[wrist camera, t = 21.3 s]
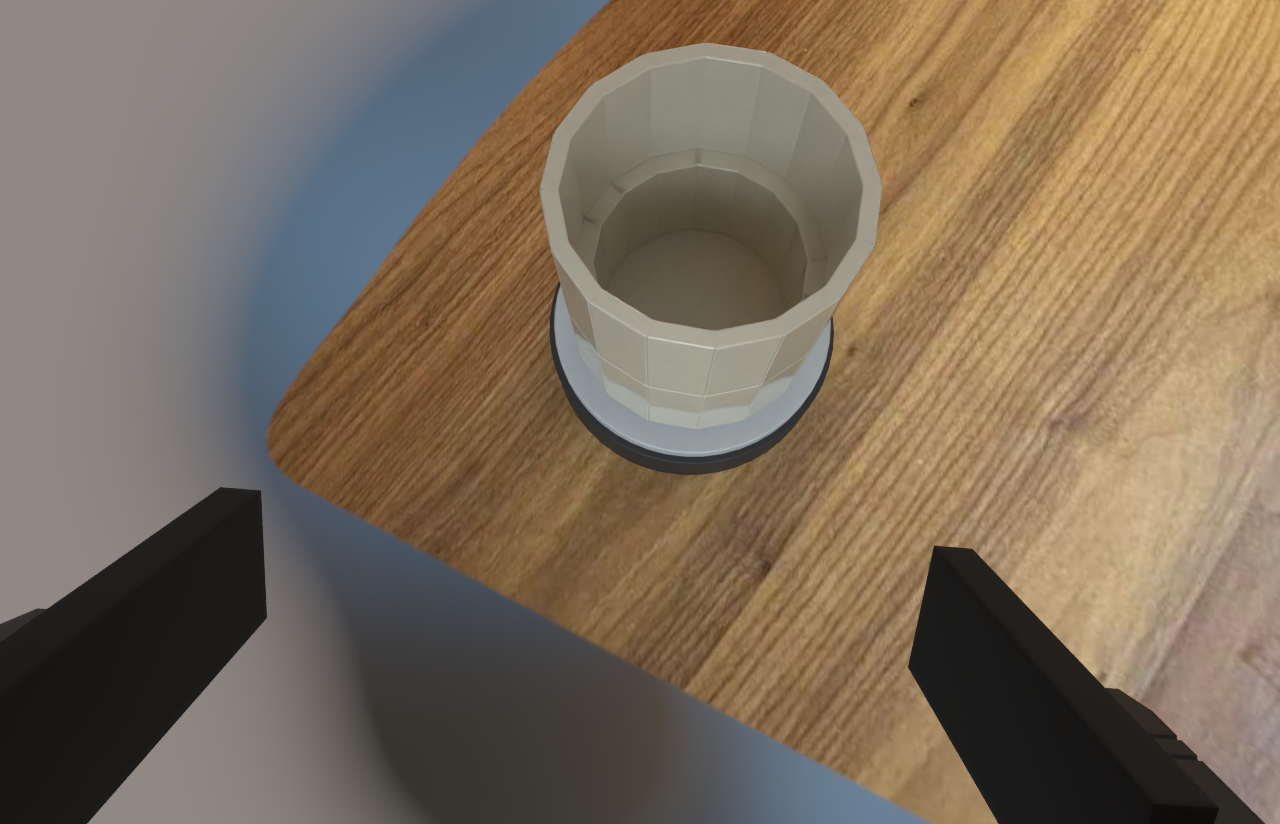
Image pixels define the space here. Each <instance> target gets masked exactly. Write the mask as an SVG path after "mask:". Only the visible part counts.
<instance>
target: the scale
mask: <svg viewBox="0 0 1280 824" xmlns="http://www.w3.org/2000/svg"><path fill="white" fill-rule="evenodd" d="M833 336H834V329H833V316H832V317H831V319H830V320H829V322H828V324H827V325H826V327H825V329H824V330H823V332H822V334H821V335H820V337H819V339H818V340H817V342H816V343H815V345H814V347H813V348H812V350H811V352H810V353H809V355H808V357H807V358H806V360H805V361H804V363H803V364H802V366H801V368H800V369H799V371H798V372H797V374H796V375H795V377H794V379H793V380H792V382H791V383H790V385H789V386H788V388H787V390H786V391H785V392H784V393H783V394H782V395H781V396H779V397H778V398H776V399H775V400H773V401H772V402H770V403H769V404H767V405H766V406H764V407H763V408H761V409H760V410H758V411H757V412H756V413H754V414H753V415H751V416H750V417H748V418H747V419H744V420H741V421H736V422H731V423H726V424H722V425H717V426H712V427H707V428H702V429H697V428H696V429H691V428H685V427H680V426H674V425H669V424H664V423H658V422H653V421H649V420H646V419H644V418H643V417H641V416H640V415H638V414H636V413H635V412H633V411H632V410H630V409H629V408H627V407H625V406H624V405H622V404H621V403H619V402H618V401H616V400H614V399H613V398H611V397H610V396H608V394H606V392H605V391H604V389H603V388H602V387H601V385H600V384H599V382H598V381H597V379H596V378H595V376H594V375H593V374H592V372H591V371H590V369H589V368H588V366H587V365H586V363H585V362H584V361H583V359H582V357H581V355H580V352H579V348H578V345H577V341H576V338H575V334H574V330H573V327H572V323H571V320H570V316H569V313H568V309H567V306H566V302H565V299H564V295H563V292H562V288H561V285H560V281H559V283H558V286H557V290H556V293H555V296H554V299H553V304H552V310H551V316H550V341H551V350H552V355H553V359H554V363H555V367H556V370H557V373H558V375H559V378H560V380H561V383H562V385H563V388H564V390H565V393H566V395H567V397H568V400H569V402H570V404H571V406H572V407H573V409H574V411H575V412H576V414H577V416H578V417H579V419H580V420H581V421H582V422H583V424H584V425H585V426H586V428H587V429H588V430H589V431H590V432H591V433H592V434H593V435H594V436H595V437H596V438H597V439H598V440H599V441H600V442H601V443H603V444H604V445H605V446H607V447H608V448H609V449H611V450H612V451H613V452H615V453H616V454H618V455H620V456H622V457H624V458H625V459H627V460H629V461H631V462H633V463H636V464H638V465H641V466H643V467H646V468H649V469H653V470H657V471H661V472H665V473H673V474H682V475H696V474H707V473H715V472H720V471H724V470H727V469H731V468H735V467H737V466H740V465H742V464H745V463H747V462H749V461H752V460H753V459H755V458H757V457H759V456H760V455H762V454H764V453H765V452H767V451H768V450H770V449H771V448H772V447H773V446H775V445H776V444H777V443H779V442H780V441H781V440H782V439H783V438H784V437H785V436H786V435H787V434H788V433H789V432H790V431H791V430H792V429H793V427H794V426H795V425H796V424H797V422H798V421H799V420H800V418H801V417H802V416H803V414H804V413H805V412H806V410H807V409H808V408H809V406H810V405H811V403H812V402H813V401H814V399H815V397H816V395H817V394H818V392H819V390H820V388H821V386H822V384H823V382H824V379H825V376H826V373H827V371H828V368H829V364H830V359H831V355H832V350H833Z"/></svg>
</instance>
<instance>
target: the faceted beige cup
mask: <svg viewBox="0 0 1280 824" xmlns="http://www.w3.org/2000/svg"><path fill="white" fill-rule="evenodd" d="M539 193H540V198H541V203H542V208H543V214H544V219H545V224H546V229H547V235H548V240H549V245H550V249H551V253H552V256H553V260H554V264H555V267H556V271H557V274H558V278H559V281H560V285H561V288H562V292H563V295H564V299H565V302H566V306H567V309H568V313H569V316H570V320H571V323H572V327H573V330H574V334H575V338H576V341H577V345H578V348H579V352H580V355H581V357H582V359H583V361H584V362H585V363H586V365H587V366H588V368H589V369H590V371H591V372H592V374H593V375H594V376H595V378H596V379H597V381H598V382H599V384H600V385H601V387H602V388H603V389H604V391H605V392H606V394H608V396H610V397H611V398H613V399H614V400H616V401H618V402H619V403H621V404H622V405H624V406H625V407H627V408H629V409H630V410H632V411H633V412H635V413H636V414H638V415H640V416H641V417H643V418H644V419H646V420H649V421H653V422H658V423H664V424H669V425H674V426H680V427H685V428H691V429H696V428H697V429H702V428H707V427H712V426H717V425H722V424H726V423H731V422H736V421H741V420H744V419H747V418H748V417H750V416H751V415H753V414H754V413H756V412H757V411H758V410H760V409H761V408H763V407H764V406H766V405H767V404H769V403H770V402H772V401H773V400H775V399H776V398H778V397H779V396H781V395H782V394H783V393H784V392H785V391H786V390H787V388H788V386H789V385H790V383H791V382H792V380H793V379H794V377H795V375H796V374H797V372H798V371H799V369H800V368H801V366H802V364H803V363H804V361H805V360H806V358H807V357H808V355H809V353H810V352H811V350H812V348H813V347H814V345H815V343H816V342H817V340H818V339H819V337H820V335H821V334H822V332H823V330H824V329H825V327H826V325H827V324H828V322H829V320H830V319H831V317H832V316H833V314H834V312H835V311H836V309H837V307H838V306H839V304H840V302H841V301H842V299H843V297H844V296H845V294H846V292H847V291H848V289H849V288H850V286H851V284H852V283H853V281H854V279H855V278H856V276H857V274H858V273H859V271H860V269H861V268H862V266H863V264H864V263H865V261H866V260H867V258H868V256H869V255H870V253H871V251H872V250H873V248H874V245H875V241H876V234H877V226H878V218H879V210H880V202H881V194H882V182H881V179H880V176H879V173H878V170H877V167H876V163H875V160H874V157H873V154H872V151H871V148H870V145H869V142H868V139H867V135H866V132H865V129H864V127H863V125H862V124H861V123H860V122H859V121H858V120H857V118H856V117H855V116H854V115H853V114H852V113H851V111H850V110H849V109H848V108H847V107H846V106H845V105H844V103H843V102H842V101H841V100H840V99H839V98H838V97H837V95H836V94H835V93H834V92H833V91H832V90H831V88H830V87H829V86H828V85H827V84H826V83H825V82H823V80H821V79H819V78H818V77H816V76H814V75H812V74H810V73H808V72H806V71H804V70H803V69H801V68H799V67H797V66H795V65H793V64H791V63H789V62H788V61H786V60H784V59H782V58H780V57H778V56H776V55H774V54H773V53H771V52H766V51H760V50H754V49H747V48H740V47H734V46H727V45H721V44H714V43H706V44H705V43H699V44H694V45H688V46H683V47H677V48H672V49H667V50H661V51H656V52H651V53H646V54H644V55H641V56H639V57H637V58H636V59H634V60H632V61H631V62H629V63H627V64H625V65H624V66H622V67H620V68H619V69H617V70H615V71H614V72H612V73H610V74H608V75H607V76H605V77H603V78H602V79H600V80H598V81H596V82H595V83H593V84H592V85H591V86H589V88H588V89H587V90H586V92H585V93H584V94H583V95H582V97H581V98H580V99H579V101H578V102H577V103H576V104H575V106H574V107H573V108H572V110H571V111H570V112H569V113H568V115H567V116H566V117H565V119H564V120H563V121H562V122H561V124H560V125H559V126H558V128H557V129H556V130H555V133H554V134H553V137H552V141H551V145H550V149H549V153H548V157H547V161H546V165H545V169H544V173H543V177H542V181H541V185H540V192H539Z"/></svg>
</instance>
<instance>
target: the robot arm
mask: <svg viewBox="0 0 1280 824" xmlns="http://www.w3.org/2000/svg"><path fill="white" fill-rule="evenodd" d="M266 618H267V610H266V588H265V568H264V546H263V525H262V503H261V491H259V490H246V489H235V488H223V487H220V488H219V489H217V490H216V491H215V492H213V493H212V494H210V495H209V496H208V497H206V498H205V499H203V500H202V501H200V502H199V503H198V504H196V505H195V506H193V507H192V508H190V509H189V510H188V511H186V512H185V513H183V514H182V515H180V516H179V517H178V518H176V519H175V520H173V521H172V522H170V523H169V524H168V525H166V526H165V527H163V528H162V529H160V530H159V531H158V532H156V533H155V534H153V535H152V536H150V537H149V538H148V539H146V540H145V541H143V542H142V543H141V544H139V545H138V546H136V547H135V548H134V549H132V550H131V551H129V552H128V553H126V554H125V555H124V556H122V557H121V558H119V559H118V560H116V561H115V562H114V563H112V564H111V565H109V566H108V567H106V568H105V569H104V570H102V571H101V572H99V573H98V574H97V575H95V576H94V577H92V578H91V579H90V580H88V581H86V582H85V583H84V584H82V585H81V586H79V587H78V588H76V589H75V590H74V591H72V592H71V593H70V594H68V595H66V596H65V597H64V598H62V599H61V600H59V601H58V602H57V603H55V604H54V605H52V606H51V607H49V608H48V609H35V610H33V611H30V612H28V613H26V614H23V615H21V616H19V617H16V618H14V619H11V620H9V621H7V622H4V623H2V624H0V824H87V823H88V822H89V821H90V820H91V818H92V817H93V816H94V815H95V814H96V813H97V812H98V810H99V809H100V808H101V807H102V806H103V805H104V803H106V801H107V800H108V799H109V798H110V797H111V796H112V794H113V793H114V792H115V791H116V790H117V789H118V788H119V787H120V785H121V784H122V783H123V782H124V781H125V780H126V779H127V777H128V776H129V775H130V774H131V773H132V772H133V771H134V769H135V768H136V767H137V766H138V765H139V764H140V762H141V761H142V760H143V759H144V758H145V757H146V756H147V754H148V753H149V752H150V751H151V750H152V749H153V748H154V746H155V745H156V744H157V743H158V742H159V741H160V740H161V738H162V737H163V736H164V735H165V734H166V733H167V732H168V730H169V729H170V728H171V727H172V726H173V725H174V724H175V722H176V721H177V720H178V719H179V718H180V717H181V716H182V714H183V713H184V712H185V711H186V710H187V709H188V707H189V706H190V705H191V704H192V703H193V702H194V701H195V700H196V698H197V697H198V696H199V695H200V694H201V693H202V691H203V690H204V689H205V688H206V687H207V686H208V685H209V684H210V682H211V681H212V680H213V679H214V678H215V677H216V675H217V674H218V673H219V672H220V670H222V669H223V667H224V666H225V665H226V664H227V663H228V662H229V661H230V659H231V658H232V657H233V656H234V655H235V654H236V653H237V651H238V650H239V649H240V648H241V647H242V645H244V643H245V642H246V641H247V640H248V639H249V638H250V636H251V635H252V634H253V633H254V632H255V631H256V630H257V628H258V627H259V626H260V625H261V624H262V623H263V622H264V621H265V619H266ZM908 668H909V670H910V671H911V673H912V675H913V676H914V678H915V680H916V682H917V683H918V685H919V687H920V689H921V690H922V692H923V694H924V696H925V697H926V699H927V701H928V702H929V704H930V706H931V708H932V709H933V711H934V713H935V715H936V716H937V718H938V720H939V721H940V723H941V725H942V727H943V728H944V730H945V732H946V734H947V735H948V737H949V739H950V740H951V742H952V744H953V746H954V747H955V749H956V751H957V753H958V754H959V756H960V758H961V760H962V761H963V763H964V765H965V766H966V768H967V770H968V772H969V773H970V775H971V777H972V779H973V780H974V782H975V784H976V785H977V787H978V789H979V791H980V792H981V794H982V796H983V798H984V799H985V801H986V803H987V804H988V806H989V808H990V810H991V811H992V813H993V815H994V817H995V818H996V820H997V822H998V824H1265V823H1264V822H1263V821H1262V820H1261V819H1260V818H1259V817H1258V816H1257V815H1256V814H1255V813H1254V812H1253V811H1252V810H1251V809H1250V808H1249V807H1248V806H1247V805H1246V804H1245V803H1244V802H1243V801H1242V800H1241V799H1240V798H1239V797H1238V796H1237V795H1236V794H1235V793H1234V792H1233V791H1232V790H1231V789H1230V788H1229V787H1228V786H1227V785H1226V784H1225V783H1224V782H1223V781H1222V780H1221V779H1220V778H1219V777H1218V776H1217V775H1216V774H1215V773H1214V772H1213V771H1212V770H1211V769H1210V768H1209V767H1208V766H1207V765H1206V764H1205V763H1204V762H1203V761H1198V759H1197V755H1196V754H1195V753H1194V752H1193V751H1192V750H1191V749H1190V748H1189V747H1188V746H1187V745H1186V744H1185V743H1184V742H1183V741H1181V740H1177V735H1176V734H1175V733H1174V732H1173V731H1172V730H1171V729H1170V728H1169V727H1168V726H1167V725H1166V724H1165V723H1164V722H1163V721H1162V720H1161V719H1160V718H1159V717H1158V716H1157V715H1156V714H1155V713H1154V712H1153V711H1151V710H1150V709H1148V708H1147V707H1145V706H1144V705H1142V704H1140V703H1139V702H1137V701H1136V700H1134V699H1133V698H1131V697H1130V696H1128V695H1127V694H1125V693H1124V692H1122V691H1121V690H1119V689H1112V688H1104V686H1103V685H1102V684H1101V683H1100V682H1099V681H1098V680H1097V679H1096V678H1095V677H1094V676H1093V675H1092V674H1091V673H1090V672H1089V671H1088V670H1087V669H1086V668H1085V667H1084V665H1083V664H1082V663H1081V662H1080V661H1079V660H1078V659H1077V658H1076V657H1075V656H1074V655H1073V654H1072V653H1071V652H1070V651H1069V650H1068V649H1067V648H1066V647H1065V646H1064V645H1063V643H1062V642H1061V641H1060V640H1059V639H1058V638H1057V637H1056V636H1055V635H1054V634H1053V633H1052V632H1051V631H1050V630H1049V629H1048V628H1047V627H1046V626H1045V625H1044V624H1043V622H1042V621H1041V620H1040V619H1039V618H1038V617H1037V616H1036V615H1035V614H1034V613H1033V612H1032V611H1031V610H1030V609H1029V608H1028V607H1027V606H1026V605H1025V604H1024V603H1023V602H1022V600H1021V599H1020V598H1019V597H1018V596H1017V595H1016V594H1015V593H1014V592H1013V591H1012V590H1011V589H1010V588H1009V587H1008V586H1007V585H1006V584H1005V583H1004V582H1003V581H1002V579H1001V578H1000V577H999V576H998V575H997V574H996V573H995V572H994V571H993V570H992V569H991V568H990V567H989V566H988V565H987V564H986V563H985V562H984V561H983V560H982V559H981V557H980V556H979V555H978V554H977V553H976V552H975V551H974V550H973V549H968V548H956V547H944V546H934V548H933V553H932V558H931V562H930V567H929V572H928V577H927V581H926V586H925V591H924V595H923V600H922V605H921V609H920V614H919V619H918V623H917V628H916V633H915V637H914V642H913V647H912V651H911V656H910V661H909V665H908Z"/></svg>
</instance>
